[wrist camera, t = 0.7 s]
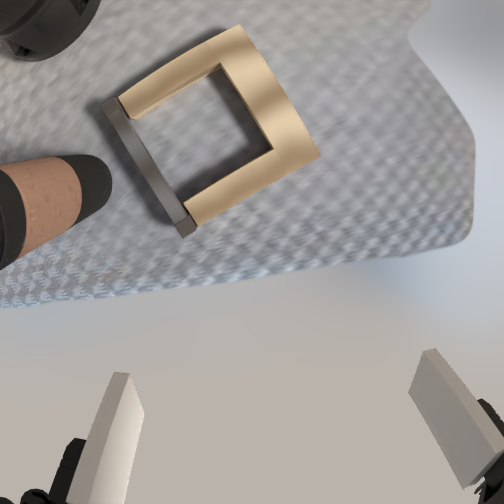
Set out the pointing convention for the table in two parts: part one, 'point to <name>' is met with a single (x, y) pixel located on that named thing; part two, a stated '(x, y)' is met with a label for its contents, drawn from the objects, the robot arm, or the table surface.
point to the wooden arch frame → (255, 99)
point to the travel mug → (47, 200)
